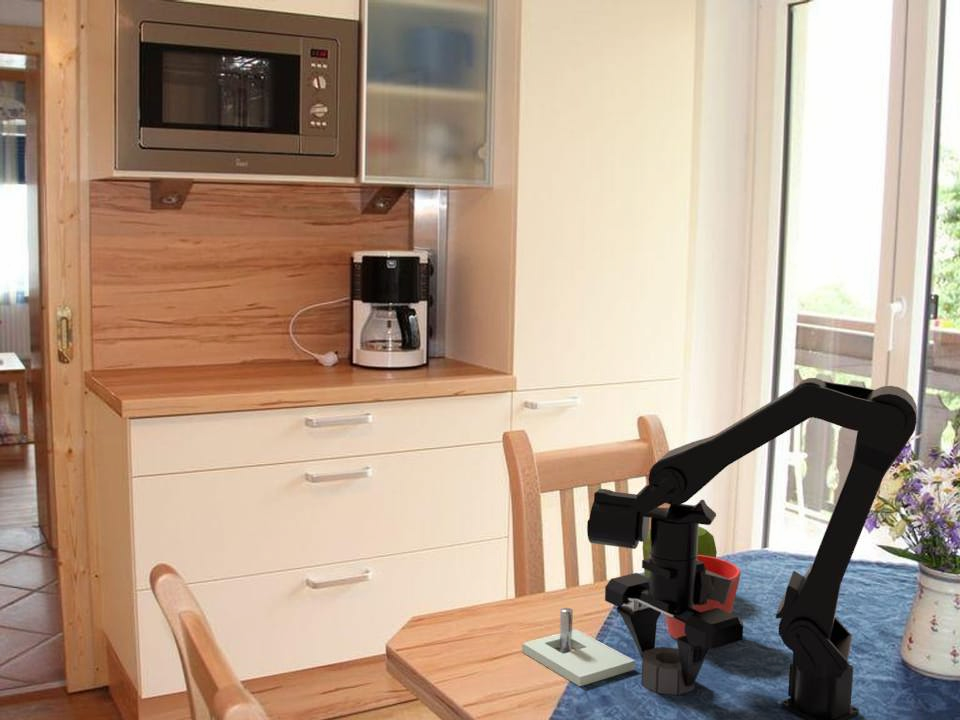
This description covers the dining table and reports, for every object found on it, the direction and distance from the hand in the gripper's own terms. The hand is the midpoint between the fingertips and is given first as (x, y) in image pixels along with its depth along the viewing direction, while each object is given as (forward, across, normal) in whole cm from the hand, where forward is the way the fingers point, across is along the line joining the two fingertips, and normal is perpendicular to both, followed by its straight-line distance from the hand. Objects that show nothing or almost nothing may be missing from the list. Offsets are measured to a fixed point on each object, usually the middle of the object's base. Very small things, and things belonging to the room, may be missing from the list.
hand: (668, 674), depth 131 cm
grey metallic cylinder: (+1, +14, +6) cm, 15 cm away
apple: (+1, +23, -24) cm, 33 cm away
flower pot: (+1, +9, -14) cm, 17 cm away
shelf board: (+1, +11, +6) cm, 12 cm away
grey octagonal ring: (+1, 0, 0) cm, 1 cm away
